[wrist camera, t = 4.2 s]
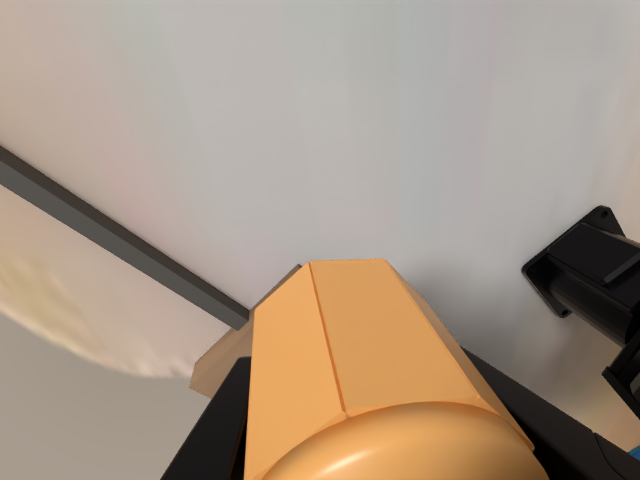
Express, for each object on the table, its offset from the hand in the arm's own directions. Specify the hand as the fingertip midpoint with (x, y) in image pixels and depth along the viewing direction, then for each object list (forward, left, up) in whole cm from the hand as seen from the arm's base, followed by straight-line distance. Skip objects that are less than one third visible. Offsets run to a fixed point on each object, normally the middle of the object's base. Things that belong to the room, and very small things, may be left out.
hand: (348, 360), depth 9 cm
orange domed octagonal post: (0, 0, -1) cm, 1 cm away
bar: (+6, +7, -11) cm, 15 cm away
